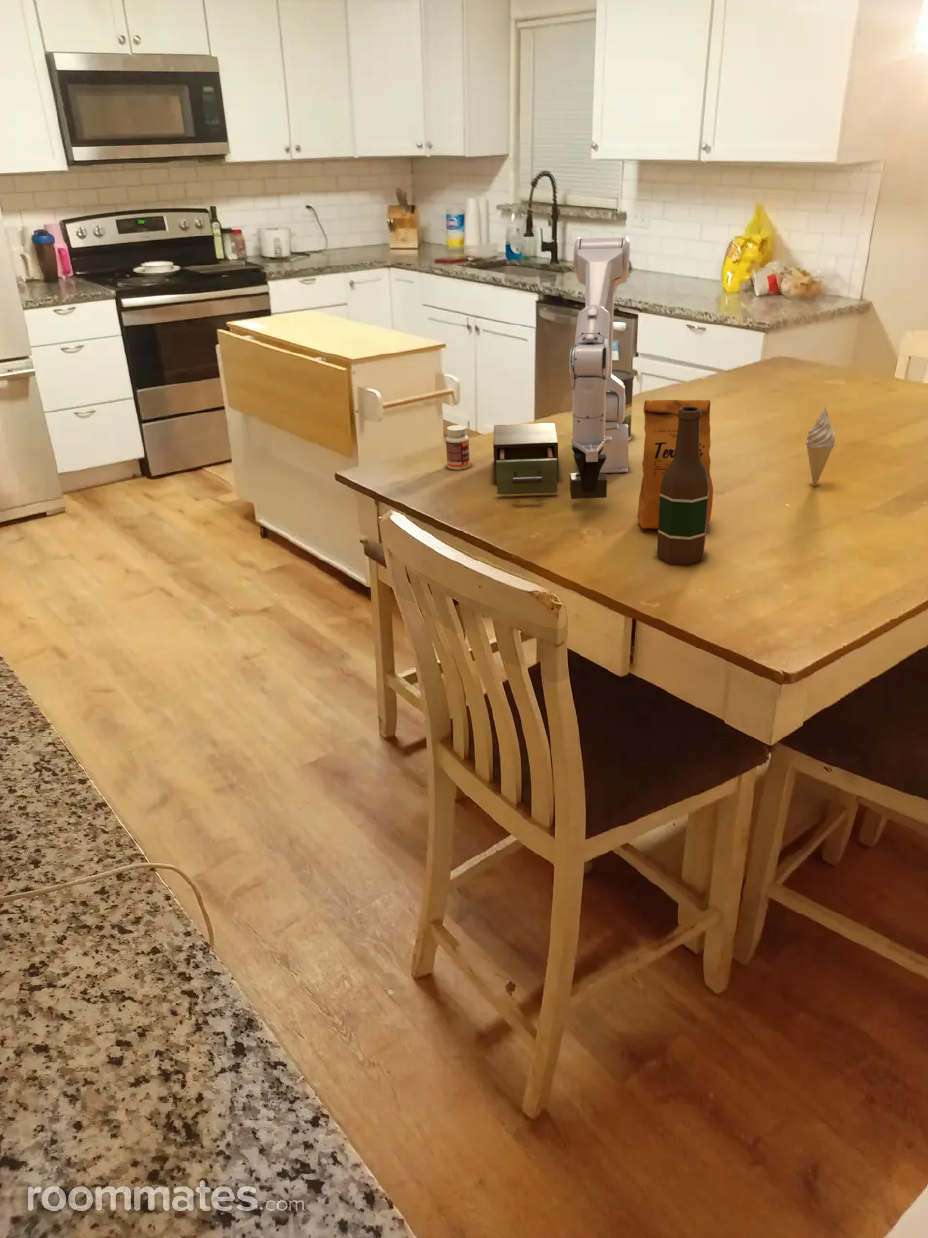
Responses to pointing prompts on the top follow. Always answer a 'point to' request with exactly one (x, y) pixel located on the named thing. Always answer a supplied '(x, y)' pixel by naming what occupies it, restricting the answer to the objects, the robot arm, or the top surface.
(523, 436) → the cabinet
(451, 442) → the pill bottle
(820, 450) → the ice cream cone
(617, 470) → the robot arm
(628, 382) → the coffee can
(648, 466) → the coffee package
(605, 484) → the dark brown box
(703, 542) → the beer bottle
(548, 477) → the drawer
